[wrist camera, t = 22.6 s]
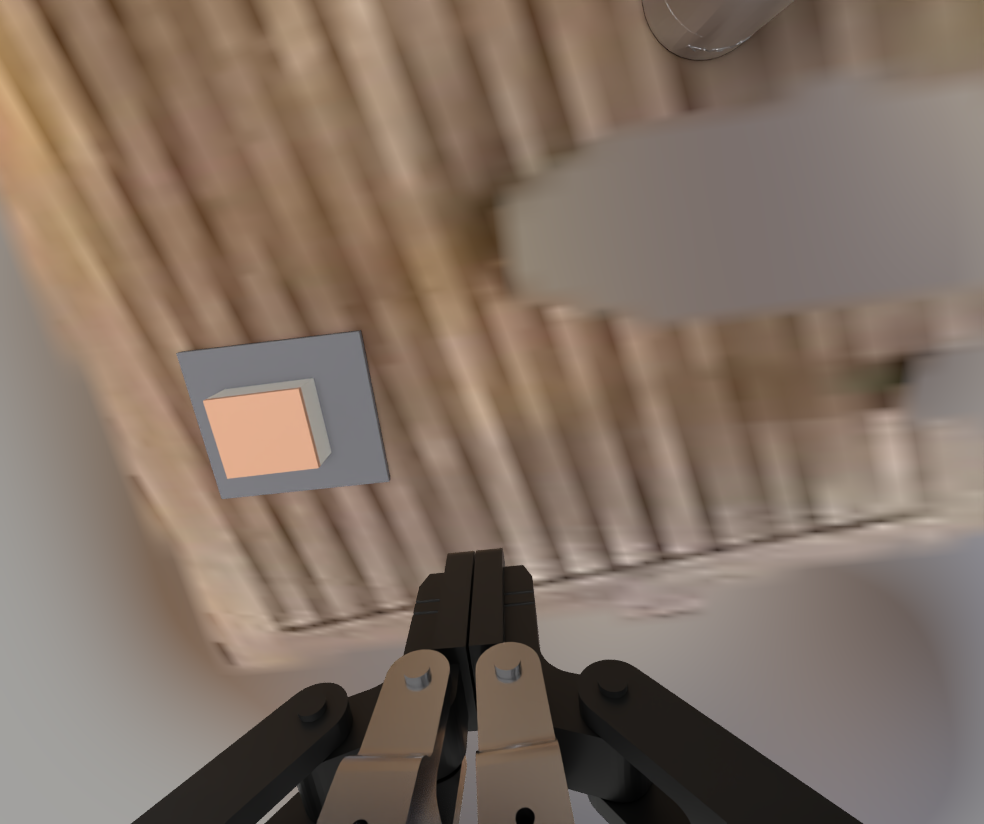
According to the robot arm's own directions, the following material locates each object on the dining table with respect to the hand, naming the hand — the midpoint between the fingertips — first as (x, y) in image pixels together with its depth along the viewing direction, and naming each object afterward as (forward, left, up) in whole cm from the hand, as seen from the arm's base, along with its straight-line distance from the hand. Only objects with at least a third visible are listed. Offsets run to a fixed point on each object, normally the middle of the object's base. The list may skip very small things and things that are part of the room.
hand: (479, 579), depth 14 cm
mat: (+4, -19, -32) cm, 37 cm away
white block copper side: (+4, -16, -30) cm, 34 cm away
